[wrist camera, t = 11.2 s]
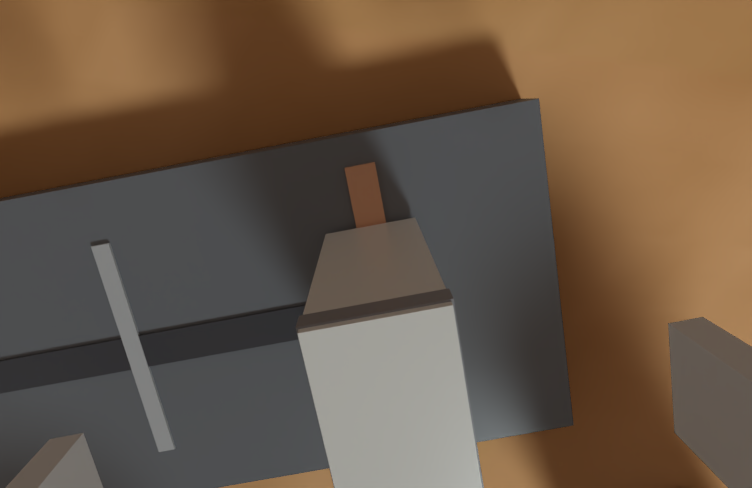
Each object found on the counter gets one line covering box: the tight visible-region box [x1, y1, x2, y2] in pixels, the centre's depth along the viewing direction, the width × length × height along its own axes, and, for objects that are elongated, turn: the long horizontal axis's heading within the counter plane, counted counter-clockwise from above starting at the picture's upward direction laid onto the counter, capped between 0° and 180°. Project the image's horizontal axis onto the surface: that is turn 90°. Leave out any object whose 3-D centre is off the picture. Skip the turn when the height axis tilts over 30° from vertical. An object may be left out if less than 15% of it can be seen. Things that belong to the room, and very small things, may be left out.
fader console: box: [0, 99, 573, 488], centre depth 20 cm, size 30×12×2 cm, turn 101°
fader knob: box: [296, 217, 484, 488], centre depth 15 cm, size 3×6×8 cm, turn 10°
